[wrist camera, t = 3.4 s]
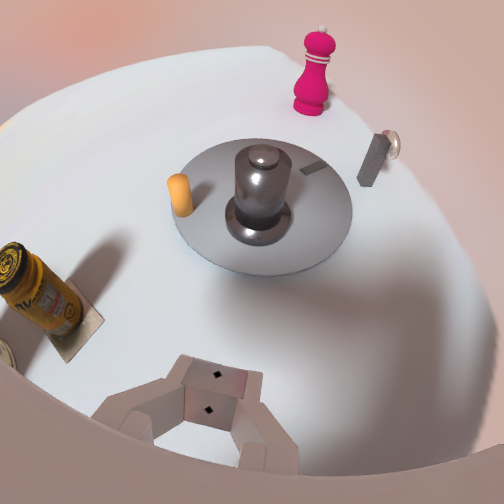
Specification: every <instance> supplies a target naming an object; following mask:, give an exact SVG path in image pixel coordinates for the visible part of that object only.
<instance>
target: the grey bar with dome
mask: <svg viewBox="0 0 504 504" xmlns="http://www.w3.org/2000/svg"><path fill="white" fill-rule="evenodd" d="M399 152H400V139H399V136H398V135H397V133H396V132H394V131H390V130H385V131H383V132H382V134H374V137H373V139H372V142H371V144H370V147H369V149H368V152H367V154H366V157H365V159H364V162H363V164H362V166H361V169H360V171H359V174H358V176H357V179H358V181H359V183H360V186H364V187H372V185H373V183H374V181H375V179H376V177H377V174H378V172H379V170H380V168H381V166H382V164H383V162H384V160H385V159H388V160H394V159H396V158H397V156H398V155H399Z"/></svg>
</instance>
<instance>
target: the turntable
mask: <svg viewBox="0 0 504 504" xmlns="http://www.w3.org/2000/svg"><path fill="white" fill-rule="evenodd" d="M258 144H268V145H271V146H274V147H277V148H279V149H281V150H283V151H284V152H285V153H286V154H288V156H289V157H290V159H291V161H292V168H291V173H290V178H289V183H288V188H287V192H286V197H285V201H286V202H287V204H288V206H289V208H290V211H291V220H290V224H289V228H288V231H287V233H286V235H285V236H284V237H283V238H282V239H281V240H279V241H278V242H276V243H274V244H272V245H268V246H262V247H256V246H249V245H246V244H243V243H241V242H239V241H238V240H236V239H235V238H234V237H233V236H232V235H231V234H230V233H229V231H228V229H227V227H226V223H225V208H226V205H227V203H228V201H229V200H230V199H231V198H232V197H233V196H234V195H235V157H236V155H237V153H238V152H239V151H240V150H242V149H243V148H245V147H248V146H251V145H258ZM167 185H168V189H169V193H170V197H171V208H172V214H173V218H174V221H175V224H176V226H177V228H178V230H179V232H180V234H181V236H182V237H183V238H184V240H185V241H186V242H187V243H188V245H189V246H191V247H192V248H193V249H194V250H195V251H196V252H197V253H198V254H200V255H201V256H202V257H204V258H205V259H207V260H208V261H210V262H212V263H214V264H216V265H218V266H220V267H223V268H225V269H228V270H231V271H234V272H238V273H242V274H247V275H255V276H281V275H289V274H293V273H297V272H301V271H304V270H307V269H309V268H311V267H314V266H316V265H318V264H319V263H321V262H323V261H324V260H326V259H327V258H328V257H329V256H331V255H332V254H333V253H334V252H335V251H336V250H337V249H338V247H339V246H340V245H341V244H342V242H343V240H344V239H345V237H346V235H347V233H348V231H349V228H350V225H351V220H352V203H351V198H350V195H349V192H348V190H347V188H346V186H345V184H344V182H343V180H342V179H341V178H340V176H339V175H338V174H337V173H336V171H335V170H334V169H333V168H332V167H331V166H330V165H329V164H327V163H326V162H325V161H324V160H322V159H321V158H320V157H318V156H316V155H315V154H313V153H311V152H310V151H308V150H305V149H303V148H301V147H298V146H296V145H293V144H290V143H286V142H282V141H277V140H271V139H256V138H254V139H241V140H234V141H230V142H225V143H222V144H219V145H216V146H214V147H212V148H209V149H207V150H206V151H204V152H202V153H200V154H199V155H198V156H196V157H195V158H193V159H192V160H191V161H190V162H189V163H188V164H187V165H186V166H185V167H184V168H183V170H182V171H181V172H180V174H174V175H172V176H171V177H170V178H169V179H168V181H167Z"/></svg>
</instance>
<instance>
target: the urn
mask: <svg viewBox="0 0 504 504" xmlns="http://www.w3.org/2000/svg"><path fill="white" fill-rule="evenodd" d="M291 168H292V161H291V159H290V157H289V156H288V154H286V153H285V152H284V151H283V150H281V149H279V148H277V147H274V146H271V145H268V144H258V145H251V146H248V147H245V148H243V149H242V150H240V151H239V152H238V153H237V155H236V157H235V195H234V196H233V197H232V198H231V199H230V200H229V201H228V203H227V205H226V208H225V223H226V227H227V229H228V231H229V233H230V234H231V235H232V236H233V237H234V238H235V239H236V240H238V241H239V242H241V243H243V244H246V245H249V246H256V247H262V246H268V245H272V244H274V243H276V242H278V241H279V240H281V239H282V238H283V237H284V236H285V235H286V233H287V231H288V228H289V224H290V220H291V211H290V208H289V206H288V204H287V202H286V201H285V197H286V192H287V188H288V183H289V178H290V173H291Z"/></svg>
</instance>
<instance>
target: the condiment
mask: <svg viewBox="0 0 504 504" xmlns="http://www.w3.org/2000/svg"><path fill="white" fill-rule="evenodd" d="M0 295H1V296H2V297H3V298H4V299H5V300H6V302H7V304H8V305H9V306H10V307H11V308H12V309H14V310H15V311H17V312H18V313H20V314H21V315H23V316H24V317H26V318H28V319H29V320H31V321H32V322H34V323H35V324H37V325H39V326H40V327H42V328H43V330H44V331H45V333H46V334H47V336H48V338H49V339H50V341H51V343H52V344H53V345H54V347H55V348H56V350H57V351H58V353H59V354H60V356H61V357H62V359H63V360H64V361H65V363H66V364H67V363H68V362H69V360H70V359H71V358H72V357H73V356H74V355H75V354H76V353H77V352H78V350H79V349H80V348H81V347H82V346H83V345H84V344H85V342H86V341H87V340H88V339H89V338H90V337H91V335H92V334H93V333H94V332H95V331H96V330H97V329H98V327H99V326H100V325H101V324H102V323H103V322H104V320H103V318H102V317H101V316H100V315H99V314H98V313H97V312H96V311H95V309H94V308H93V307H92V306H91V305H90V304H89V302H88V301H87V300H86V299H85V297H84V296H83V295H82V294H81V292H80V291H79V290H78V289H77V287H76V286H75V285H74V284H73V282H72V281H71V280H70V279H69V278H68V279H67V280H66V281H65V282H63V281H62V280H61V279H60V278H59V277H58V276H57V275H56V274H55V273H54V272H52V271H51V270H50V269H49V267H47V265H46V264H45V263H44V262H43V261H42V260H41V259H40V258H39V257H38V256H36V255H34V254H31V253H30V252H29V251H28V250H26V249H25V247H24V246H23V245H22V244H20V243H16V242H11V243H9V244H7V245H6V246H4V247H3V248H2V249H1V250H0ZM83 318H84V324H83ZM60 338H61V339H60Z"/></svg>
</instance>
